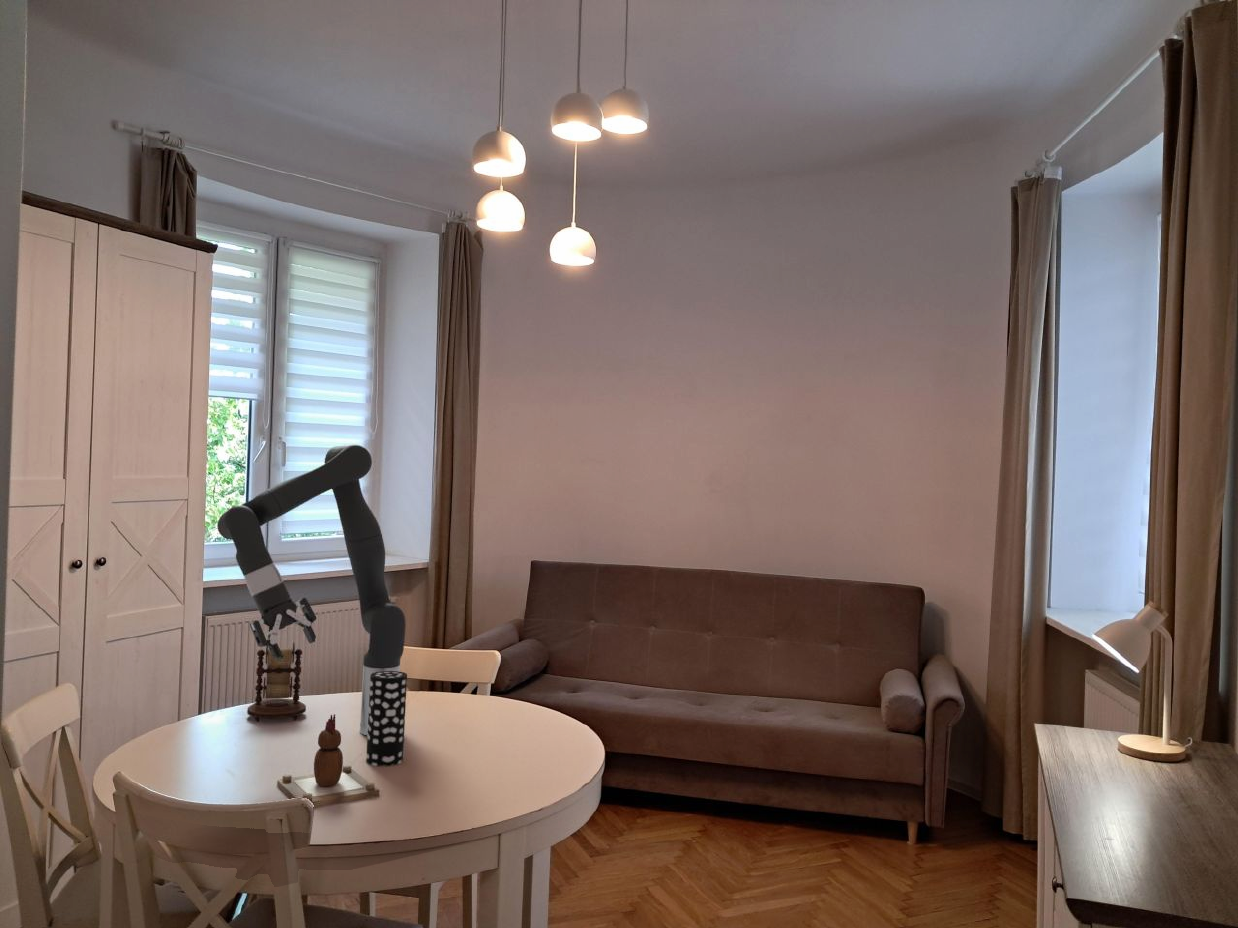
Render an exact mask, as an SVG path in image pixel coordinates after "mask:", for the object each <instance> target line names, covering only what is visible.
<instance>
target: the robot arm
mask: <svg viewBox="0 0 1238 928" xmlns="http://www.w3.org/2000/svg"><path fill="white" fill-rule="evenodd" d="M372 460H373V459H372V456H371V453H370V452H369V450H368V449H367V448H365V447H364V446H363V445H359V444H352V443H351V444H350V443H349V444H341V445H340V444H339V445H335V446H332V447H330V449H328V451H327V453H326V454H325V458H324V464H322V465H319V466H317V467H316V468H314V469H312V470H310V471H307V472H304V473H302V474H299V475H296V476H294V477H291V478H288V479H286V480H283V481H281V482H279V483H277V484H276V485H274V486H272V487H269V488H268V489H266V490H264V491H262V492H261V493H259V494H258V495H256V496H255V497H254V498H252V499H251V500H248V501H247V502H245V503H243V504H241V505H235V506H233V507H231V508H229V509H228V510H226V511H225V512H224V513H222V515H220V517H219V518H218V520H217V521H218V522H217V531H218V533H219V534H220V536H221V537H222V538H224V539H226V540H229V541H233V544H234V547H235V549H236V553H235V560H236V562H237V565H238V567H239V569H240V571H241V573H242V575H243V577H244V581H245V584H246V586H247V588H248V593H249V594H250V595H251V597H252V600H253V602H254V603H255V606H256V608H257V610H258V612H259V613H260V617H261V619H258V620H254V621H252V622H250V623H249V626H250V629H251V632H252V635H253V636H254V639H255V642H256V645H257V646H258V647H259V648H261V647H262V648H263V647H266V646H267V647H268V649H270V651H271V653H272V656H273V658H275V659H277V660H280V659H282V658H283V655H282V653H281V650H280V647H279V644H278V643H276V641H277V637H278V634H279V631H280V630H282V629H285V628H286V627H288V626H291V625H292V624H294V625H297V626H299V627H301V628H303V629H302V631H303V634H304V636H305V638H306V640H307V641H308V644H313V643H315V642H316V638H317V635H316V633H315V631H314V629H313V627H312V624H313V623H314V622H315V621H317V616H316V614H315V612H314V611H313V607H311V604H310V602H309V601H308V599H307V598H306V597H302V598H301V599H298V600H297V601H296V602H294V601H293V600H292V597H291V595H290V592H289V590H288V588H287V585H286V584H285V581H284V580H283V578H282V577H283V576H282V575H281V573H280V571H279V569H278V568H277V567H276V565H275V563H274V561H273V558H272V556H271V554H270V552H269V551H268V548H267V546H266V543H265V539H264V535H263V531H262V528H261V527H262V526H263V525H265V524H266V523H269V522H271V521H274V520H277V519H278V518H280V517H282V516H284V515H285V514H287V513H289V512H291V511H293V510H294V509H296V508H298V507H300V506H302V505H303V504H305V503H307V502H308V501H310V500H312V499H314V498H315V497H318V496H320V495H322V494H324V493H325V492H327V491H331V490H332V492H333V496H334V499H335V502H336V506H337V510H338V516H339V519H340V524H341V527H342V528H341V529H342V532H343V537H344V542H345V546H346V552H347V556H348V558H349V559H348V560H349V561H350V565H351V569H352V574H353V577H354V581H355V584H356V588H357V593H358V601H359V607H360V608H359V610H360V618H361V623H362V626H363V629H364V630H365V631H366V633H368V635H369V642H368V650H367V651H366V653H364V655H363V664H362V665H363V667H362V668H363V669H362V683H361V684H362V687H361V703H360V705H361V707H360V722H359V723H360V725H359V726H360V727H359V733H360V734H362V735H364V736H367V734H368V715H369V695H370V676H371V674H372V673H375V672H380V671H399V672H401V671H400V669H401V658H402V656H403V653H404V649H405V638H406V637H405V635H406V616H405V614H404V613H405V612H404V611H403V610H402V609H401V608H400V607H398V606H397V605H395V604H392V602H391V599H390V597H389V593H388V591H387V587H386V582H385V581H386V580H385V569H386V568H385V566H386V548H385V547H386V546H385V543H384V538H383V534H382V530H381V526H380V524H379V522H378V520H377V518H376V516H375V514H374V513H373V511H372V510H371V508H370V507H369V505H368V504H367V501H366V499H365V498H364V495H363V492H362V489H361V482H360V479H362V478H363V479H364V477H365V476H366V475H367V474H368V473H369V472H370V470H371V468H372V463H373V461H372ZM298 609H299V610H301V611H302V614H303V616H302V615H300V614H298V613H297V611H298ZM304 617H305V618H304ZM264 625H266V626H267V627H268V628H267V633H266V635H267V636H265V633H264V631H263V628H264Z"/></svg>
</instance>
